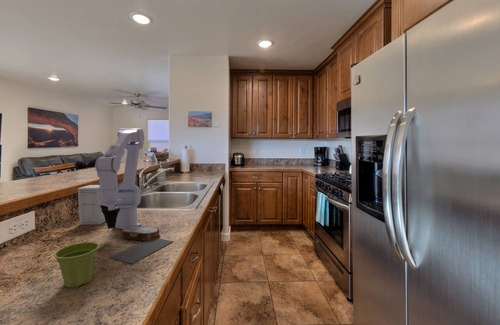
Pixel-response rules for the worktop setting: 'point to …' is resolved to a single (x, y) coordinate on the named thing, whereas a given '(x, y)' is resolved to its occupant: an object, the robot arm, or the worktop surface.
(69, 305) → the worktop surface
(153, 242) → the mat
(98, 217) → the supplement box
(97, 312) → the worktop surface
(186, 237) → the worktop surface
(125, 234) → the tin
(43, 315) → the worktop surface
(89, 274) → the plant pot
